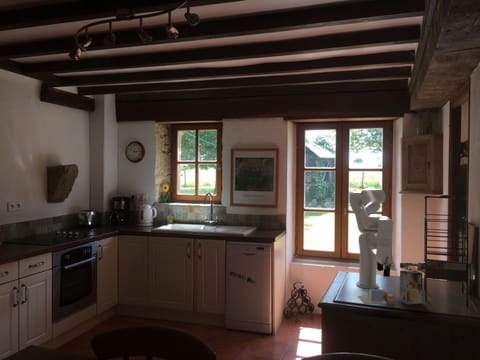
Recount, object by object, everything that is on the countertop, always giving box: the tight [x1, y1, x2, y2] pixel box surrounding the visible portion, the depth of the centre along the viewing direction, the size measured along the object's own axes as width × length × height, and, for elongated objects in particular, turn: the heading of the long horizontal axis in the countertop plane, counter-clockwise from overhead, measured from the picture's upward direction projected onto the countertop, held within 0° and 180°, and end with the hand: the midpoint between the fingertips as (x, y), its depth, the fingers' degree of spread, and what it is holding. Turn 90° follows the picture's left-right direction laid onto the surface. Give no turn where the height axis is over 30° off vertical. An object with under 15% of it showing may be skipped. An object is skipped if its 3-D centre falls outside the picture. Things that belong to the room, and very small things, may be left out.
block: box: [368, 288, 383, 301], centre depth 199 cm, size 4×5×6 cm
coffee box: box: [399, 269, 423, 305], centre depth 197 cm, size 9×6×16 cm
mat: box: [357, 295, 388, 305], centre depth 199 cm, size 11×12×1 cm
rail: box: [381, 289, 395, 305], centre depth 198 cm, size 12×2×4 cm, turn 179°
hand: (383, 273), depth 199 cm, fingers open, 9 cm apart
